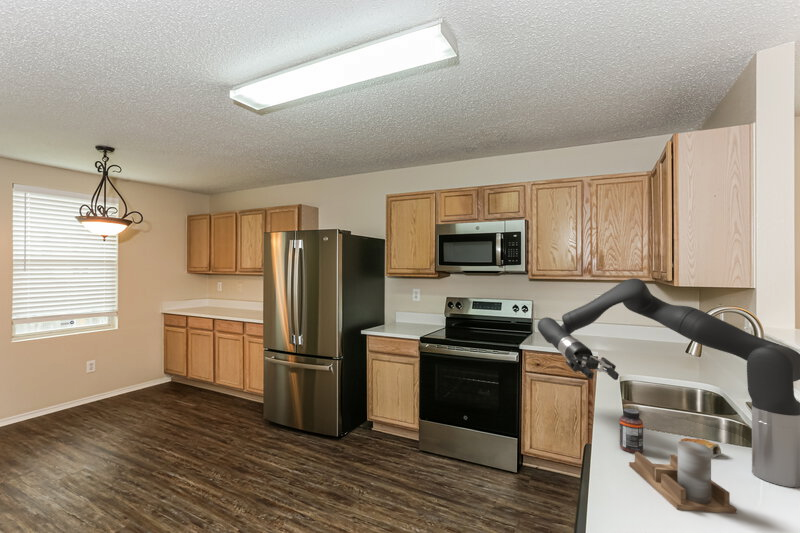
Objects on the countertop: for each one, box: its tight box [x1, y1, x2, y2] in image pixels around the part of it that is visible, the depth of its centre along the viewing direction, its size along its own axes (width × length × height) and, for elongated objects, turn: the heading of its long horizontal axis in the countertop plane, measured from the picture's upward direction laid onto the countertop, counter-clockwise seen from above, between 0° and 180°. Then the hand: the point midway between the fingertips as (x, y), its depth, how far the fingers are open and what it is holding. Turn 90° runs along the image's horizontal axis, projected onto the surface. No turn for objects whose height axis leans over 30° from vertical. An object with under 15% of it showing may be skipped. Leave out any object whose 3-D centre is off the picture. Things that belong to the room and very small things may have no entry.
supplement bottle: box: [619, 408, 644, 454], centre depth 115 cm, size 6×6×11 cm
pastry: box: [679, 437, 722, 459], centre depth 116 cm, size 9×7×4 cm
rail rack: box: [628, 440, 737, 514], centre depth 94 cm, size 12×20×12 cm, turn 176°
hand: (604, 376), depth 119 cm, fingers open, 8 cm apart
